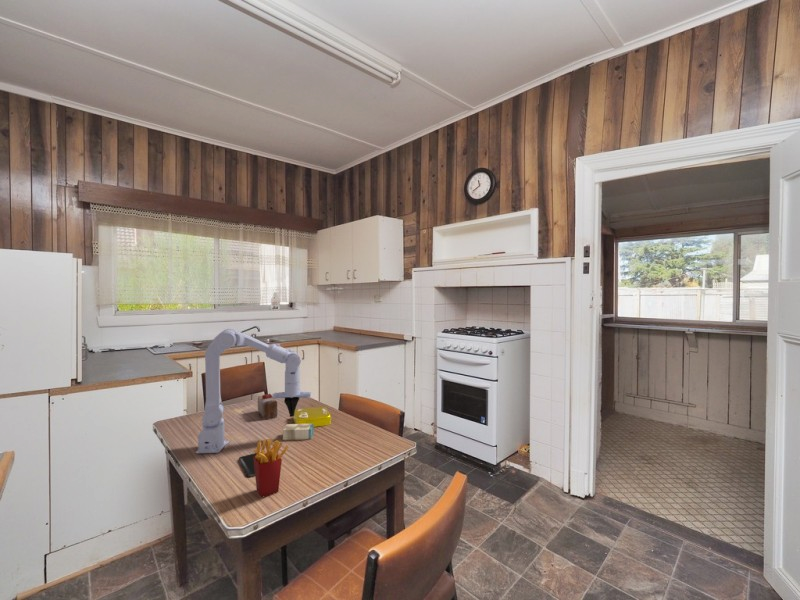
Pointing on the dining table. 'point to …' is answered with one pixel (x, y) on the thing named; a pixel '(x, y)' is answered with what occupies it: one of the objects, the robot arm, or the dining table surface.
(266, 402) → the food item
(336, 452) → the dining table surface
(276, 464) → the french fries
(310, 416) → the yellow flat box
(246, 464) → the phone
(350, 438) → the dining table surface
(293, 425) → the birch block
